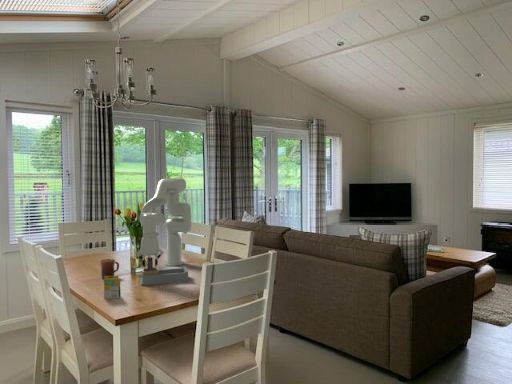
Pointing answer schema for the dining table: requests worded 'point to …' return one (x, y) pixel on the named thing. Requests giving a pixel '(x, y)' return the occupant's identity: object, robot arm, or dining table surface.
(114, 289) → the crayon box
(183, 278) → the bay
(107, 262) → the mug
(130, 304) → the dining table surface
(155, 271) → the crate
